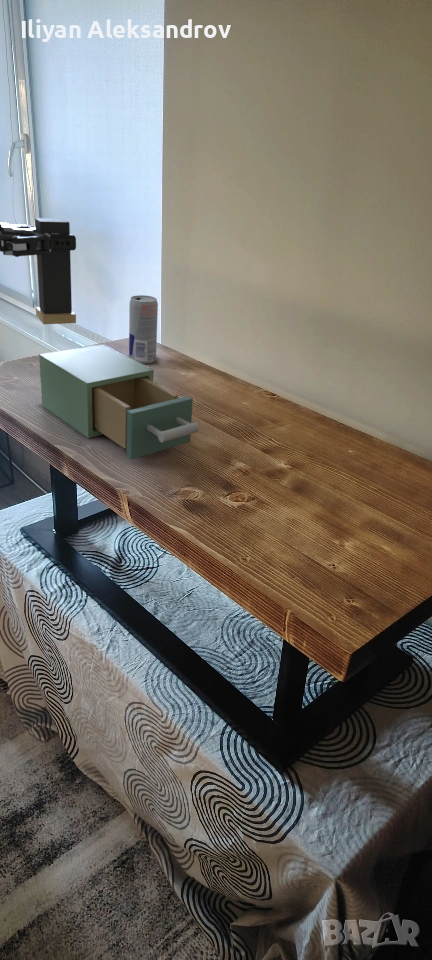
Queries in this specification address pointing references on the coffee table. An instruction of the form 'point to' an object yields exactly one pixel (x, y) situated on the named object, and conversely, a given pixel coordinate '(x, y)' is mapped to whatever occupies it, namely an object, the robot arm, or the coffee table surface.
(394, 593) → the coffee table surface
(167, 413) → the drawer
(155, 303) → the energy drink
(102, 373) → the cabinet
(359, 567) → the coffee table surface
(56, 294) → the black post
